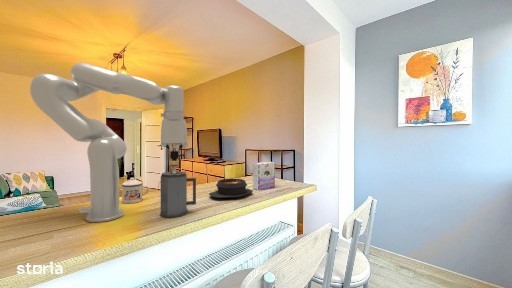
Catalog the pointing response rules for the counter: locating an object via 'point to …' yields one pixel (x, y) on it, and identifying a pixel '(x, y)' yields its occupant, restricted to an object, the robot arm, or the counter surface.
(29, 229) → the counter surface
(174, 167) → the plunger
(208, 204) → the counter surface
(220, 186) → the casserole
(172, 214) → the coffee press
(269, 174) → the candy box
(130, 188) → the teacup with lid
